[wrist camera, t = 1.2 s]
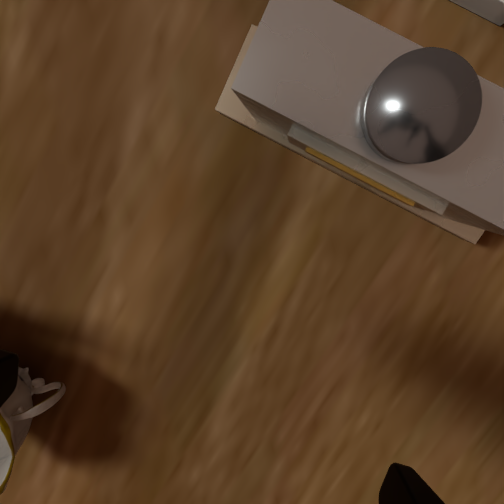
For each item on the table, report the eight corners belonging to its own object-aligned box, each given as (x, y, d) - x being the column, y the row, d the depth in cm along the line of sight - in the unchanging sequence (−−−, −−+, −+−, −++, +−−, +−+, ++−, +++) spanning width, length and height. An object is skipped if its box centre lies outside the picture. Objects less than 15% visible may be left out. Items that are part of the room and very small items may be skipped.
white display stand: (509, 167, 17) (730, 160, 8) (460, 239, 18) (612, 299, 9) (255, 37, 17) (214, -103, 9) (220, 115, 18) (151, 61, 10)
